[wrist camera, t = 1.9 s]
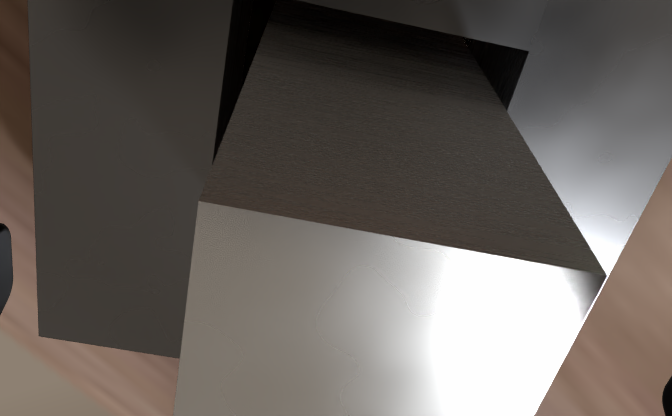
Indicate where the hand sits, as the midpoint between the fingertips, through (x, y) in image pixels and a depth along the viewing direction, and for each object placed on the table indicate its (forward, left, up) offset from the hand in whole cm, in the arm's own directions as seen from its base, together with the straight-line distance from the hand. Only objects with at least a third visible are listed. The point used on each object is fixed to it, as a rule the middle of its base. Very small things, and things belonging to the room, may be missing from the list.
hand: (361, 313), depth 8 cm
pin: (0, 0, -9) cm, 9 cm away
